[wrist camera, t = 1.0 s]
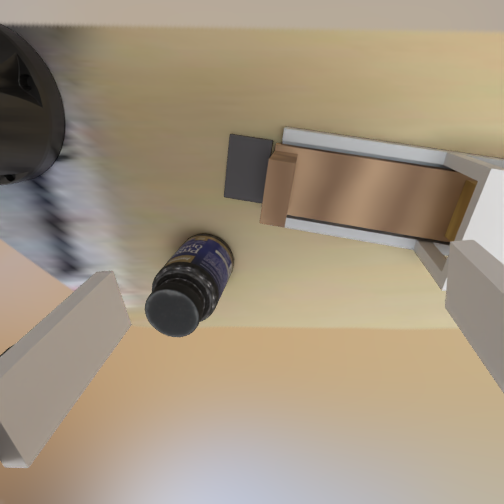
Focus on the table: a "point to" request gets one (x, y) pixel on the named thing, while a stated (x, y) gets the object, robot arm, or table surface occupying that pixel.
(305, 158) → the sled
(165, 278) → the pill bottle
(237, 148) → the dark grey flat block
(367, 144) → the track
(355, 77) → the table surface
